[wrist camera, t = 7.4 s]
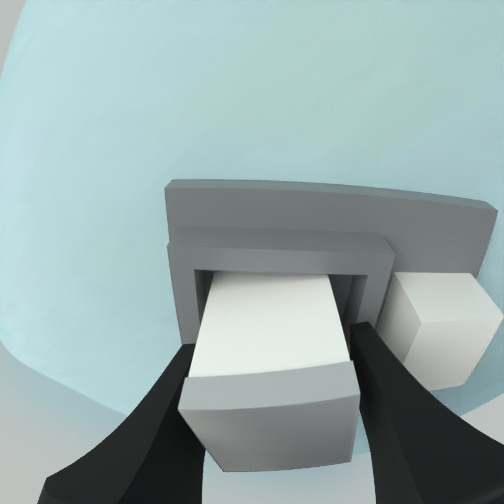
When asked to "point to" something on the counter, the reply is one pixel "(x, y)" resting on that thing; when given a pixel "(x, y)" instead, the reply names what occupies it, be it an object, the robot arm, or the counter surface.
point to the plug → (272, 374)
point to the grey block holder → (346, 260)
